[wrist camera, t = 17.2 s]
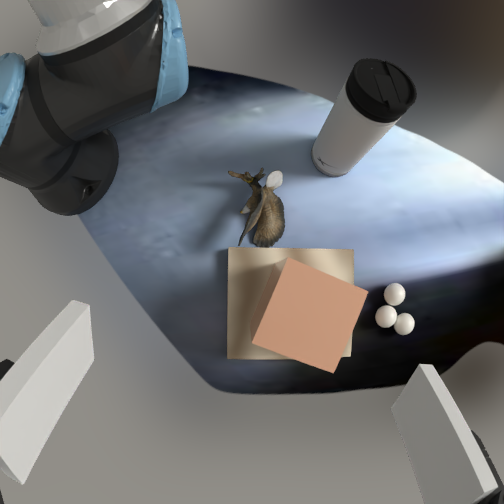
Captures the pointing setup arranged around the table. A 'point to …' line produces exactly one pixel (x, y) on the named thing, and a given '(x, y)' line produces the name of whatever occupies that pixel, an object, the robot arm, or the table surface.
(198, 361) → the table surface
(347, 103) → the travel mug
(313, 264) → the birch pad
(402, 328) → the cream marble
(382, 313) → the cream marble
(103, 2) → the robot arm
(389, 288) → the cream marble
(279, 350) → the peach squarish block
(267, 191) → the eagle figurine
